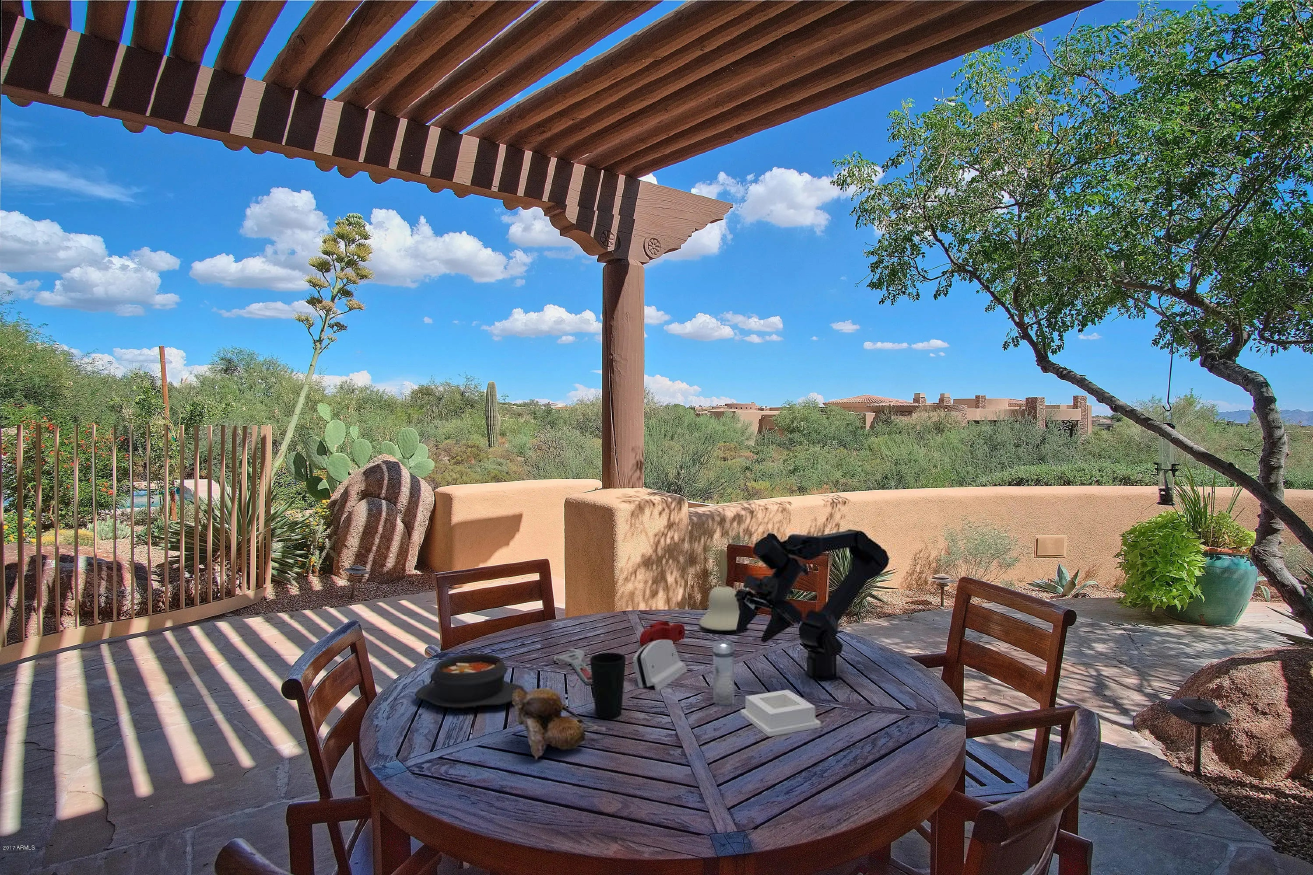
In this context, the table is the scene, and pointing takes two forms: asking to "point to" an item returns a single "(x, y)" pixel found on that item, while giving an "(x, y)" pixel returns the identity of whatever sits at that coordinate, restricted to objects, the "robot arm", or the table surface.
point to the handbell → (721, 603)
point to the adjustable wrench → (576, 664)
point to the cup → (608, 684)
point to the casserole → (468, 682)
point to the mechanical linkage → (662, 632)
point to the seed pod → (548, 720)
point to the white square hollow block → (780, 713)
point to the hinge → (657, 664)
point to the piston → (723, 672)
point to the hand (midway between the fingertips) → (749, 637)
